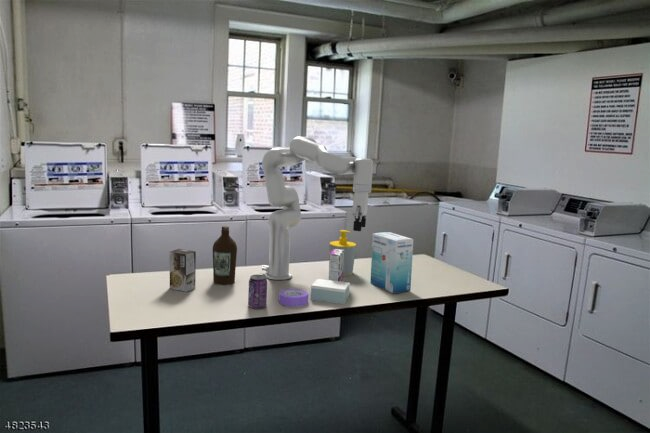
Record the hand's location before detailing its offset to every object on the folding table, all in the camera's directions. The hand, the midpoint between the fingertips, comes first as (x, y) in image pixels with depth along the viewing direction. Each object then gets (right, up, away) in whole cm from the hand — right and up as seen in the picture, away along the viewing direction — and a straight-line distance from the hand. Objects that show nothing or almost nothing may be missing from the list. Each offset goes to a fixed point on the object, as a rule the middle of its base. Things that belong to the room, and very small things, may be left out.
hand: (359, 228), depth 214 cm
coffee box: (-75, -25, +2) cm, 79 cm away
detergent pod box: (-12, -29, -1) cm, 31 cm away
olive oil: (-60, -24, +13) cm, 66 cm away
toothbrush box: (+15, -27, +19) cm, 37 cm away
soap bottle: (-7, -23, +39) cm, 46 cm away
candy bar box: (-10, -27, +15) cm, 32 cm away
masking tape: (-27, -30, -7) cm, 41 cm away
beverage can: (-41, -30, -15) cm, 53 cm away
